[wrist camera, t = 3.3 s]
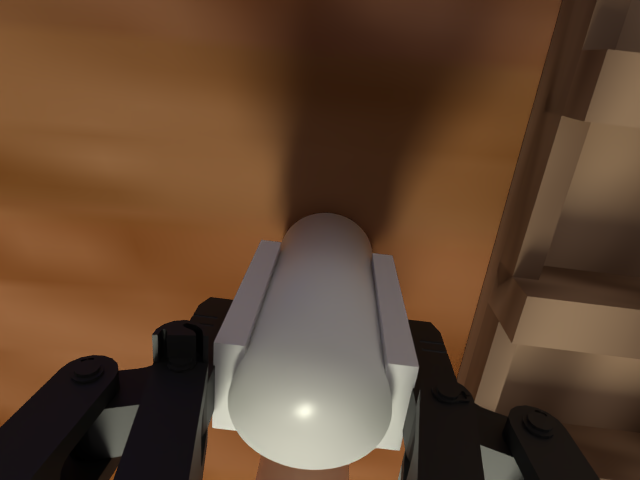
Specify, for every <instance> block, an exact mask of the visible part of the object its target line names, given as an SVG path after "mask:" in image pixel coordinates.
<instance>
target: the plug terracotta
mask: <svg viewBox="0 0 640 480" xmlns="http://www.w3.org/2000/svg"><path fill="white" fill-rule="evenodd" d="M256 480H349V464H347V465H344V466H341V467H336V468H332V469H323V470H308V469H299V468H293V467H289V466H285V465H282V464H279V463H277V462H274V461H272V460H270V459H268V458H266V457H264V456H262V455H261V458H260V462H259V467H258V471H257V476H256Z"/></svg>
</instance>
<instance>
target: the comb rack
mask: <svg viewBox="0 0 640 480" xmlns="http://www.w3.org/2000/svg"><path fill="white" fill-rule="evenodd" d="M457 382H458V383H460V384H461V385H463V386H464V387H465V388H466V389H467V390H468V391H469V392H470V393H471V394H472V397H473V399H474V402H475V404H477V405H479V406H481V407H483V408H485V409H488V410H490V411H493V412H496V413H499V414H502V415H504V416H507V417H508V415H509V412H510V410H511V409H512V408H514V407H516V406H523V405H527V406H532V407H536V408H539V409H541V410H543V411H546V412H548V413H549V414H551V415H552V416H553V417H555V418H556V419H558V420H559V421H560V422H561V424H562V425H563V426H564V427H565V428H566V429H567V431H568V432H569V434H570V435H571V437H572V438H573V440H574V441H575V443H576V444H577V446H578V447H579V449H580V450H581V452H582V453H583V455H584V456H585V458H586V459H587V461H588V462H589V464H590V465H591V467H592V468H593V470H594V471H595V473H596V474H597V476H598V477H599V478H600V480H640V0H563V1H562V5H561V8H560V12H559V15H558V19H557V22H556V26H555V30H554V33H553V37H552V40H551V44H550V48H549V51H548V55H547V58H546V62H545V65H544V69H543V73H542V76H541V80H540V83H539V87H538V90H537V94H536V98H535V101H534V105H533V108H532V112H531V116H530V119H529V123H528V126H527V130H526V133H525V137H524V141H523V144H522V148H521V151H520V155H519V159H518V162H517V166H516V169H515V173H514V176H513V180H512V184H511V187H510V191H509V194H508V198H507V202H506V205H505V209H504V212H503V216H502V219H501V223H500V227H499V230H498V234H497V237H496V241H495V245H494V248H493V252H492V255H491V259H490V262H489V266H488V270H487V273H486V277H485V280H484V284H483V287H482V291H481V295H480V298H479V302H478V305H477V309H476V313H475V316H474V320H473V323H472V327H471V330H470V334H469V338H468V341H467V345H466V348H465V352H464V356H463V359H462V363H461V366H460V370H459V373H458V377H457Z"/></svg>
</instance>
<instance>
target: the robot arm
mask: <svg viewBox="0 0 640 480" xmlns="http://www.w3.org/2000/svg"><path fill="white" fill-rule="evenodd" d="M280 251H281V242H274V241H265V240H261V242H260V244H259V246H258V248H257V250H256V253H255V255H254V257H253V259H252V261H251V263H250V266H249V268H248V270H247V272H246V274H245V276H244V278H243V281H242V283H241V285H240V287H239V289H238V291H237V294H236V296H235V298H234V300H230V299H222V298H213V297H210V298H209V299H207V300H206V301H204V302H203V303H201V304H200V305H199V306H198V308H197V309H196V311H195V313H194V316H192V318H191V320H190V321H188V320H180V321H173V322H169V323H166V324H164V325H162V326H160V327H159V328H157V329H156V330H155V332H154V333H153V334H152V341H153V362H154V363H153V365H152V366H149V367H145V368H139V369H130V370H120V371H118V364H117V363H116V362H115V361H114V360H113V359H112V358H109V357H106V356H99V355H92V356H86V357H81V358H79V359H76V360H74V361H71V362H69V363H68V364H66V365H65V366H64V367H62V368H61V369H60V370H59V371H58V372H57V373H56V374H55V375H54V376H53V377H52V378H51V379H50V380H49V381H48V382H47V383H46V384H45V385H44V386H42V387H41V388H40V389H39V390H38V391H37V392H36V393H35V394H34V395H33V396H32V397H31V398H30V399H29V400H28V401H27V402H26V403H25V404H24V405H23V406H22V407H21V408H20V409H19V410H18V411H17V412H16V413H15V414H14V415H13V416H12V417H11V418H10V419H9V420H8V421H6V422H5V423H4V424H3V425H2V426H1V427H0V480H109V479H110V478H111V476H112V474H113V473H114V471H115V470H116V468H117V467H118V468H117V471H116V474H115V477H114V480H202V478H203V470H204V463H205V455H206V448H207V436H208V425H209V422H210V420H211V417H212V414H213V420H212V428H219V429H227V430H235V431H236V429H235V427H234V425H233V423H232V421H231V418H230V415H229V410H228V392H229V388H230V385H231V382H232V379H233V376H234V373H235V371H236V369H237V367H238V365H239V364H240V362H241V361H242V359H243V358H244V356H245V353H246V350H247V347H248V345H249V342H250V339H251V336H252V333H253V330H254V327H255V324H256V321H257V318H258V315H259V312H260V309H261V307H262V304H263V301H264V298H265V295H266V292H267V289H268V286H269V283H270V280H271V277H272V274H273V271H274V269H275V266H276V263H277V260H278V257H279V254H280ZM371 262H372V270H373V278H374V286H375V294H376V302H377V310H378V318H379V326H380V334H381V342H382V350H383V358H384V366H385V374H386V378H387V380H388V383H389V387H390V392H391V400H392V417H391V422H390V425H389V428H388V430H387V432H386V434H385V436H384V438H383V439H382V440H381V442H380V443H379V444H378V445H377V446H376V447H375V448H383V449H391V450H399V451H400V447H401V442H402V438H404V445H405V453H404V457H403V461H402V465H401V470H400V474H399V478H398V480H600V478H599V477H598V476H597V474H596V473H595V471H594V470H593V468H592V467H591V465H590V464H589V462H588V461H587V459H586V458H585V456H584V455H583V453H582V452H581V450H580V449H579V447H578V446H577V444H576V443H575V441H574V440H573V438H572V437H571V435H570V434H569V432H568V431H567V429H566V428H565V427H564V426H563V425H562V424H561V422H560V421H559V420H558V419H556V418H555V417H553V416H552V415H551V414H549V413H548V412H546V411H543V410H541V409H539V408H536V407H532V406H527V405H523V406H516V407H514V408H512V409H511V410H510V412H509V415H508V417H507V416H504V415H502V414H499V413H496V412H493V411H490V410H488V409H485V408H483V407H481V406H479V405H477V404H475V402H474V399H473V397H472V394H471V393H470V392H469V391H468V390H467V389H466V388H465V387H464V386H463V385H461V384H460V383H458V382H457V379H456V377H455V374H454V371H453V368H452V365H451V362H450V359H449V356H448V354H447V351H446V348H445V345H444V342H443V339H442V336H441V333H440V332H439V331H438V330H437V329H436V328H435V327H434V325H433V324H432V323H431V322H423V321H415V320H408V318H407V314H406V310H405V306H404V302H403V298H402V293H401V289H400V285H399V281H398V277H397V273H396V268H395V264H394V260H393V256H392V255H384V254H375V253H372V259H371Z"/></svg>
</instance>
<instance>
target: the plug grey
mask: <svg viewBox="0 0 640 480" xmlns="http://www.w3.org/2000/svg"><path fill="white" fill-rule="evenodd" d="M371 259H372V248H371V244H370V241H369V239H368V237H367V235H366V234H365V232H364V231H363V230H362V229H361V227H360V226H359V225H357V224H356V223H355V222H353V221H352V220H350V219H349V218H346V217H344V216H341V215H338V214H333V213H317V214H312V215H309V216H306V217H304V218H302V219H300V220H299V221H297V222H296V223H295V224H294V225H292V226H291V227H290V229H289V230H288V231H287V233H286V234H285V236H284V238H283V240H282V243H281V251H280V254H279V257H278V260H277V263H276V266H275V269H274V271H273V274H272V277H271V280H270V283H269V286H268V289H267V292H266V295H265V298H264V301H263V304H262V307H261V309H260V312H259V315H258V318H257V321H256V324H255V327H254V330H253V333H252V336H251V339H250V342H249V345H248V347H247V350H246V353H245V356H244V358H243V359H242V361H241V362H240V364H239V365H238V367H237V369H236V371H235V373H234V376H233V379H232V382H231V385H230V388H229V392H228V410H229V415H230V418H231V421H232V423H233V425H234V427H235V429H236V431H237V432H238V434H239V435H240V436H241V438H242V439H243V440H244V441H245V442H246V443H247V444H248V445H249V446H250V447H251V448H253V449H254V450H255V451H256V452H258V453H259V454H261V455H262V456H264V457H266V458H268V459H270V460H272V461H274V462H277V463H279V464H282V465H285V466H289V467H293V468H299V469H308V470H323V469H332V468H336V467H341V466H344V465H347V464H350V463H352V462H355V461H357V460H359V459H361V458H362V457H364V456H365V455H367V454H368V453H369V452H371V451H372V450H373V449H374V448H375V447H376V446H377V445H378V444H379V443H380V442H381V440H382V439H383V438H384V436H385V434H386V432H387V430H388V428H389V425H390V422H391V417H392V400H391V392H390V387H389V383H388V380H387V378H386V374H385V366H384V358H383V350H382V342H381V334H380V326H379V318H378V310H377V302H376V294H375V286H374V278H373V270H372V262H371Z"/></svg>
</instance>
